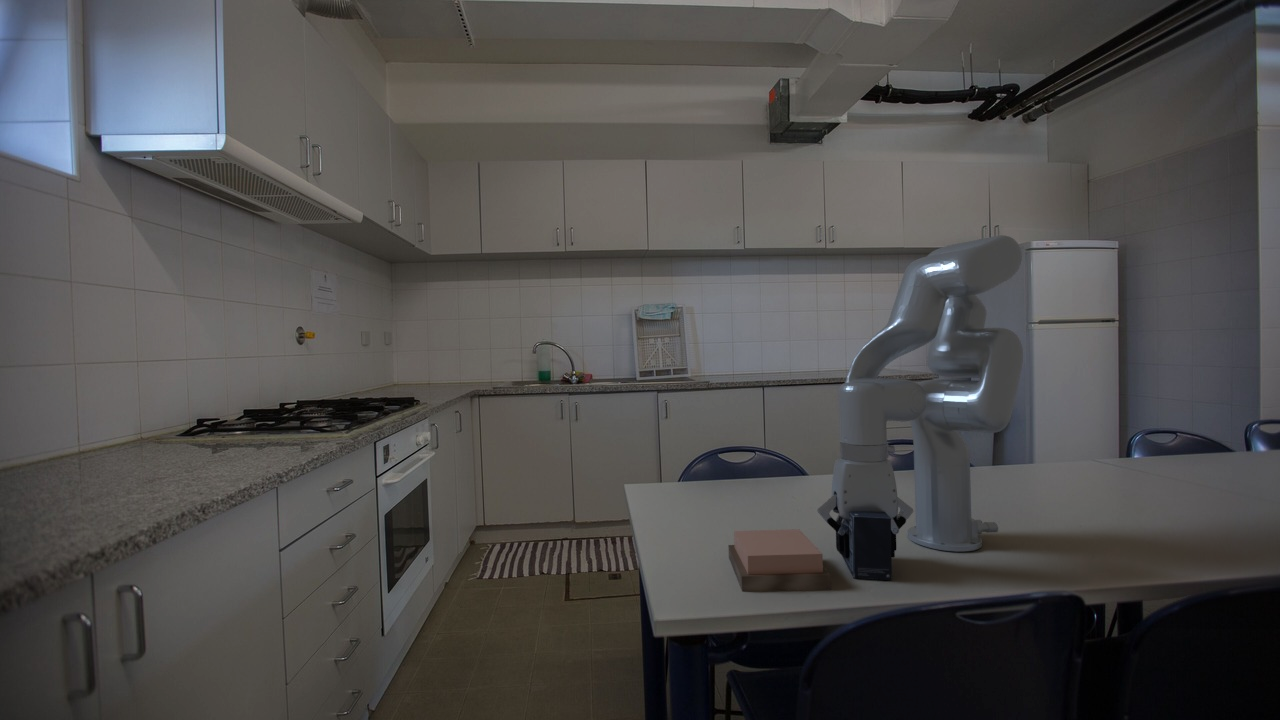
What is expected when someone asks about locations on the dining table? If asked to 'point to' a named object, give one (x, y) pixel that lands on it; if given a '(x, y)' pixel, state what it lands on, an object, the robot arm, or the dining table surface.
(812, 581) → the walnut slab
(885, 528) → the small box
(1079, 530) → the dining table surface
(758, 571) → the terracotta slab
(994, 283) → the robot arm
